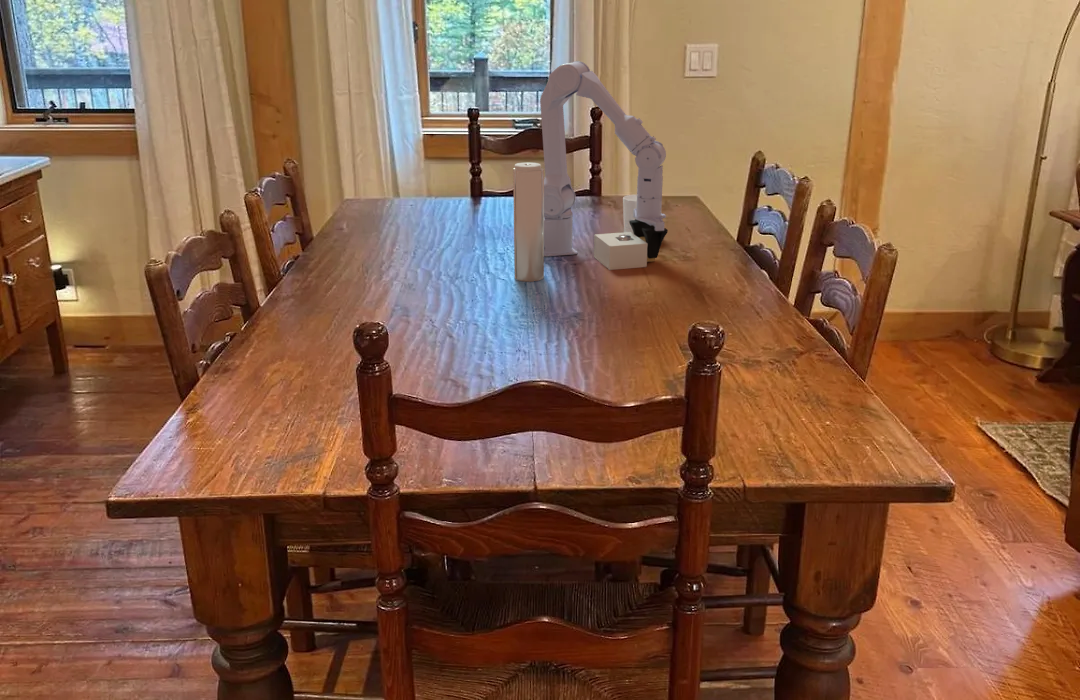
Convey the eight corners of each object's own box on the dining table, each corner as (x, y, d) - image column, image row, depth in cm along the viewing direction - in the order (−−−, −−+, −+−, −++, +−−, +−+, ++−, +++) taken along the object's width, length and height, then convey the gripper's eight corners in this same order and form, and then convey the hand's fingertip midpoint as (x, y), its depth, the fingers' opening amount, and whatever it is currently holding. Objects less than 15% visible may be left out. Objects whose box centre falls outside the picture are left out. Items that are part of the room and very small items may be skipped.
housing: (609, 269, 212) (609, 246, 210) (594, 257, 222) (594, 234, 220) (646, 266, 215) (647, 243, 213) (629, 254, 225) (630, 231, 223)
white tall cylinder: (540, 282, 203) (540, 167, 194) (511, 281, 205) (510, 166, 195) (546, 274, 209) (546, 161, 200) (518, 272, 210) (516, 160, 201)
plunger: (620, 246, 216) (621, 238, 215) (616, 243, 218) (616, 235, 217) (632, 245, 216) (632, 237, 216) (628, 242, 219) (628, 234, 218)
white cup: (652, 232, 244) (654, 194, 241) (652, 240, 237) (654, 201, 233) (622, 232, 245) (623, 194, 241) (621, 239, 238) (622, 200, 234)
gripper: (678, 202, 209) (675, 260, 214) (653, 189, 222) (651, 245, 227) (648, 203, 207) (646, 263, 212) (625, 190, 220) (624, 247, 225)
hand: (647, 254), depth 220 cm, fingers open, 6 cm apart
